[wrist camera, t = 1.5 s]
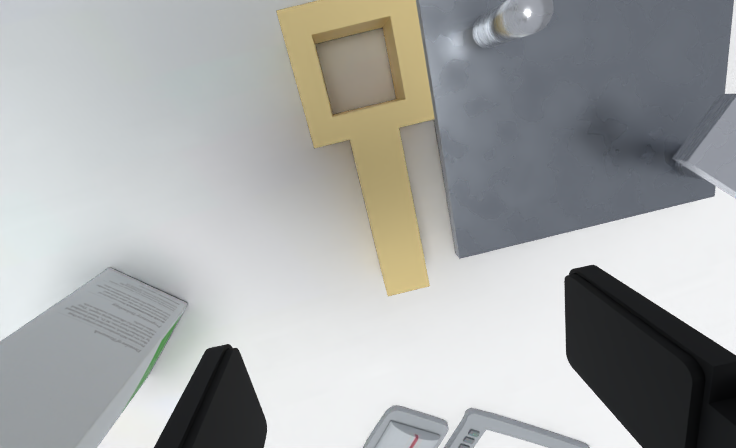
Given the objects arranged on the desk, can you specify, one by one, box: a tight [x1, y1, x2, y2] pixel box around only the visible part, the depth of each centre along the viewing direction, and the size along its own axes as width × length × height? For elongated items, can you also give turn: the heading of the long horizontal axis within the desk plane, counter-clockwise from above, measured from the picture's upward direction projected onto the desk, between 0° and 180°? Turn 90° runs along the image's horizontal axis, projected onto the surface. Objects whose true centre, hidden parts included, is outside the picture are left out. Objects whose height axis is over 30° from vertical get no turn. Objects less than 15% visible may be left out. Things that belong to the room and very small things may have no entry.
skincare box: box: [0, 268, 187, 448], centre depth 21 cm, size 8×7×16 cm
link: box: [276, 0, 435, 296], centre depth 24 cm, size 18×7×4 cm, turn 13°
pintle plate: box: [416, 0, 736, 258], centre depth 22 cm, size 20×20×7 cm
